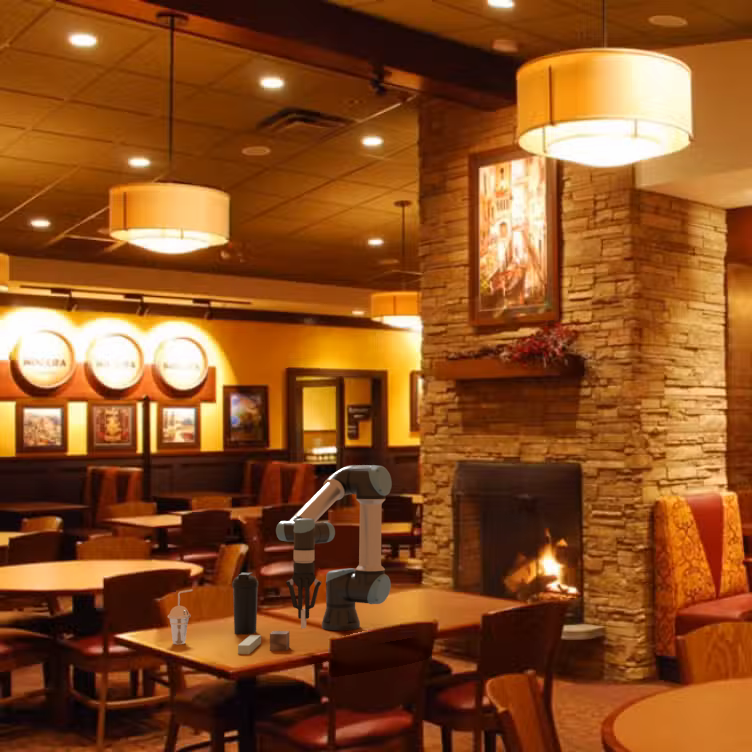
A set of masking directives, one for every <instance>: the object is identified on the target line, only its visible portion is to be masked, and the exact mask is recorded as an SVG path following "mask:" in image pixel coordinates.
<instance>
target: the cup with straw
mask: <svg viewBox="0 0 752 752" xmlns="http://www.w3.org/2000/svg"><path fill="white" fill-rule="evenodd" d="M193 591H194V589H193V588H191V589H186V590H185V589H184V590H180V591H178V593H177V605H176V606H174V607H172V608H171V609H170V612H169V614H168V615H167V618H168V619H169V623H170V629H171V638H172V644H173V645H177V646H178V645H184V644H186V640H187V631H188V623H189V618H191V613H189V611H188V608H186V607H185V606H184V605H180V604H181V602H180V601H181V596H180V595H181V594H182V593H189V592H193Z"/></svg>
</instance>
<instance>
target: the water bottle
mask: <svg viewBox="0 0 752 752" xmlns="http://www.w3.org/2000/svg"><path fill="white" fill-rule="evenodd" d="M251 574H253V572H240V574H238V576H236V577H234V579H233V581H232V582H231V586H232V590H233V591H232V595H233V625H234V626H233V632H234V634H236V635H255V634H256V633H257V622H258V621H257V620H258V617H257V616H258V615H257V614H258V587H259V580H258V579H257V578H256V577H255V576H253V575H251Z"/></svg>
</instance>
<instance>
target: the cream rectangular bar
mask: <svg viewBox="0 0 752 752" xmlns="http://www.w3.org/2000/svg"><path fill="white" fill-rule="evenodd" d="M261 644H262V635H261V634H249V636H247V637H246V638H245V639H243V641H241V642H240V643H239V644H237V654H238V655H250V654H251V653H252V652H254V650H255V649H257V648H258V647H259V646H260V645H261Z"/></svg>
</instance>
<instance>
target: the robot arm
mask: <svg viewBox="0 0 752 752" xmlns="http://www.w3.org/2000/svg"><path fill="white" fill-rule="evenodd" d="M392 484H393V483H392V477H391V474H390V472H389V471H388V469H387V468H386V467H384V466H383V465H375V464H372V465H370V464H369V465H368V464H366V465H365V464H362V465H360V464H359V465H358V464H357V465H356V464H352V465H351V464H350V465H346V466H344V467H342V468H340V469H338V470H336V471H335V472H334V473H332V474H331V475H329V476H328V477H327V478H326V479H325V481H324V482H323V486H322V487H321V488H320V489H319V490H318V491H317V492H316V493H315V494H314V495H313V496H312V497H311V498H310V499H309V500H308V501H307V502H306V503H305V504H304V505H303V506H302V507H301V508H300V509H299V510H298V511H297V512H296V513H295V514H294V515H293V516H292V517H291V518H290V519H289V520H281V521H280V522H278V524H277V525H276V528H275V534H276V537H277V538H278V540H279V541H282V542H283V541H284V542H287V543H289V542H293V561H294V563H293V574H292V577H291V578H290V579H289V580H287V581H286V582H285V583H286V586H287V587H288V590H289V595H290V598H291V603H292V608H294V609H297V618H298V619H300V629H306V628H307V619H309V618H310V610H311V609H313V608H314V607H315V606H316V601H317V596H318V592H319V590H320V586H321V585H322V581H321V580H319V579H317V576H316V575H315V562H314V561H315V545H316V544H326V543H329V542H331V541H333V540H334V538H335V535H336V529H335V527H334V525H333V524H332V523H330V522H327V521H321V522H317V521H318V520H319V519H320V518H321V517H322V516H323V515H324V514H325V512H327V511H328V510H329V508H331V506H332V505H333V504H334V503H335V502H336V501H339V500H342V499H343V498H344V497H345V496H348V495H355V496H356V498H355V500H356V501H357V502H358V503H359V544H358V545H359V553H358V554H359V556H358V559H359V560H358V562H359V563H358V565H357V567H356V568H351V567H350V568H349V567H348V568H339V569H333V570H329V571H328V572H326V575H325V577H326V580H325V596H326V597H325V600H326V601H325V603H326V604H325V605H326V607H325V611H324V615H323V618H322V621H321V628H322V629H323V630H326V631H327V630H328V631H339V632H340V631H353V630H352V629H354V630H357V628H358V629H360V628H361V627H360V626H361V622H360V617H359V615H358V611H357V608H356V603H357V604H369V605H381V604H383V603H384V602H385V601H387V598H388V596H389V595H390V592H391V587H392V584H391V582H392V581H391V579H390V577H389V576H388V575H387V574H386V573H385V571H386V569H385V568H384V566H382V504H383V503H384V502H385V501H386V496H388V495H389V494H390V492H391V490H392ZM313 583H314V584H313ZM294 584H295V585H296V587H297V596H296V592H295V589H294ZM312 585H314V588H313V591H312V592H313V593H312V596H310V594H311V589H310V588H311V587H312ZM303 590H304V591H303ZM303 592H304V597H303ZM310 597H311V601H310ZM303 598H304V607H303Z"/></svg>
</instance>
